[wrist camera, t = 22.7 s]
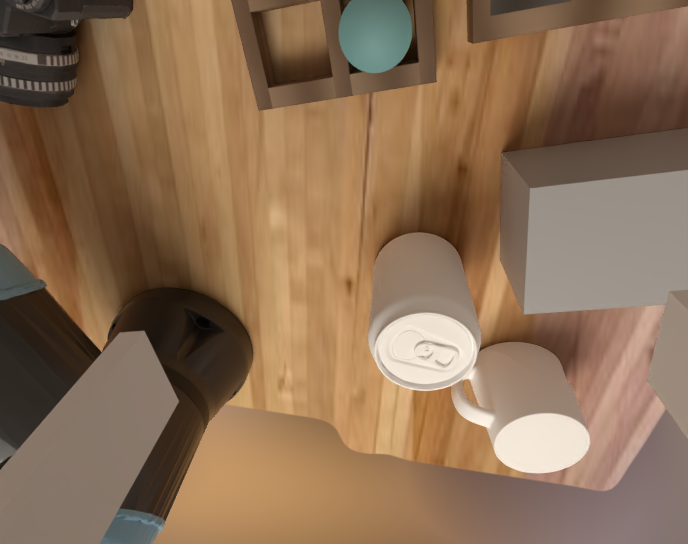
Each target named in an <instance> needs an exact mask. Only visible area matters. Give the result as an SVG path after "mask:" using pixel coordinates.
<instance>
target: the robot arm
mask: <svg viewBox="0 0 688 544" xmlns="http://www.w3.org/2000/svg"><path fill="white" fill-rule="evenodd" d="M45 286H47V284H46V283H45V282H44V281H43V280H41V279H37V278H36V277H35V276H34V275H33V274H32V273H31V272H30V271H29V270H28V268H27V267H26V266H25V265H24V264H23V263H22V262H21V261H20V260H19V259H18V258H17V257H16V256H15V255H14V254H13V253H12V252H11V251H10V250H9V249H8V248H6V247H5V246H4V245H2V244H0V544H153V543H154V541H155V539H156V537H157V535H158V533H159V532H161V531H162V529H163V528H164V524H165V521H166V518H167V516H168V514H169V512H170V509H171V507H172V505H173V502H174V500H175V498H176V496H177V493H178V491H179V489H180V486H181V484H182V482H183V480H184V477H185V475H186V473H187V470H188V468H189V466H190V463H191V461H192V459H193V457H194V454H195V452H196V450H197V447H198V445H199V443H200V440H201V438H202V436H203V434H204V432H205V429H206V427H207V425H208V423H209V421H210V420H211V419H212V418H213V417H214V416H215V415H216V414H217V412H218V411H219V410H220V409H221V408H222V407H223V405H224V404H225V403H226V402H227V401H229V400H230V399H232V398H233V397H234V396H235V395H236V394H237V393H238V392H239V390H240V389H241V388H242V386H243V384H244V382H245V380H246V378H247V375H248V373H249V370H250V368H251V365H252V360H253V351H252V345H251V342H250V339H249V337H248V334H247V332H246V331H245V329H244V328H243V326H242V325H241V323H240V322H239V321H238V320H237V319H236V317H235V316H234V315H233V314H232V313H230V312H229V311H228V310H227V309H226V308H224V307H223V306H222V305H220V304H219V303H217V302H215V301H214V300H212V299H210V298H208V297H206V296H203V295H201V294H198V293H195V292H192V291H188V290H184V289H177V288H159V289H153V290H149V291H146V292H143V293H141V294H139V295H137V296H136V297H134V298H133V299H132V300H131V301H130V302H129V303H128V304H127V305H126V306H125V307H124V308H123V309H122V310H121V311H120V312H119V313H118V315H117V316H116V317H115V319H114V321H113V322H112V324H111V327H110V330H109V333H108V341H107V342H106V344H105V346H104V348H103V351H102V352H101V351H100V350H99V349H98V348H97V347H96V345H95V344H94V343H93V342H92V341H91V340H90V339H89V338H88V337H87V336H86V334H85V333H84V332H83V331H82V330H81V329H80V327H79V326H78V325H77V324H76V323H75V322H74V321H73V319H72V318H71V317H70V316H69V315H68V314H67V312H66V311H65V310H64V309H63V308H62V307H61V306H60V304H59V303H58V302H57V301H56V300H55V299H54V297H53V296H52V295H51V294H50V293H49V292H48V290H47V289H46V288H45ZM647 381H648V383H649V384H650V386H651V387H652V389H653V390H654V391H655V393H656V394H657V396H658V397H659V399H660V400H661V402H662V403H663V404H664V406H665V407H666V409H667V410H668V411H669V413H670V414H671V416H672V417H673V418H674V420H675V421H676V423H677V425H678V426H679V427H680V429H681V430H682V431H683V433H684V435H685V436H686V437H687V439H688V290H677V291H669V293H668V297H667V301H666V305H665V309H664V313H663V317H662V321H661V325H660V329H659V334H658V338H657V342H656V346H655V350H654V354H653V358H652V362H651V366H650V370H649V374H648V378H647Z"/></svg>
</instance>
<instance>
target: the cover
mask: <svg viewBox="0 0 688 544" xmlns="http://www.w3.org/2000/svg"><path fill="white" fill-rule="evenodd" d="M500 261H501V264H502V266H503V268H504V271H505V273H506V275H507V277H508V280H509V282H510V284H511V287H512V289H513V291H514V293H515V296H516V298H517V300H518V303H519V305H520V307H521V309H522V312H523V314H524V315H525V314H539V313H553V312H567V311H581V310H595V309H609V308H623V307H637V306H651V305H665V304H666V301H667V297H668V293H669V291H677V290H688V128H683V129H675V130H668V131H660V132H653V133H645V134H638V135H630V136H622V137H615V138H607V139H600V140H592V141H585V142H577V143H569V144H562V145H554V146H547V147H539V148H532V149H524V150H516V151H509V152H501V216H500Z"/></svg>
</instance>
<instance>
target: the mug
mask: <svg viewBox="0 0 688 544" xmlns="http://www.w3.org/2000/svg"><path fill="white" fill-rule="evenodd" d="M465 379H470V382H471V385H472V388H473V391H474V393H475V396H476V399H477V402H478V405H479V406H477V405H475V404H473V403H472V402H471V401H470V400H469V399H468V398H467V397H466V395H465V393H464V391H463V386H462V381H463V380H465ZM451 395H452V400H453V403H454V406H455V407H456V409H457V411H458V412H459V413H460V414H461V415H462V416H463V417H464V418H465V419H467V420H469V421H471V422H473V423H476V424H478V425H481V426H484V427H486V428H487V431H488V433H489V436H490V439H491V442H492V445H493V448H494V451H495V453H496V455H497V457H498V458H499V459H500V460H501V461H502V462H503V463H504V464H505V465H507V466H509V467H511V468H513V469H515V470H519V471H522V472H528V473H548V472H554V471H558V470H561V469H564V468H567V467H569V466H571V465H573V464H575V463H576V462H578V461H579V460H580V459H581V458H582V457H583V456H584V455H585V454H586V452H587V451H588V449H589V446H590V435H589V432H588V429H587V426H586V423H585V421H584V418H583V415H582V412H581V409H580V406H579V404H578V401H577V398H576V395H575V392H574V389H573V386H572V384H571V383H568V382H567V380H566V377H565V374H564V371H563V368H562V365H561V362H560V361H559V359H558V358H557V357H556V356H555V355H554V354H553V353H552V352H550V351H549V350H547V349H545V348H543V347H540V346H538V345H534V344H530V343H524V342H504V343H498V344H494V345H491V346H489V347H486V348H484V349H483V350H481V351H480V352H478V355H477V359H476V362H475V364H474V366H473V368H472V369H471V371H470V372H469V373H468V374H467V375H466V376H465V377H464V378H463V379H462V380H460V381H459V382H457V383H455V384H453V385H452V388H451Z"/></svg>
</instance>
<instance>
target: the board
mask: <svg viewBox="0 0 688 544" xmlns="http://www.w3.org/2000/svg"><path fill="white" fill-rule="evenodd" d="M686 6H688V0H467V30H468V42H471V43H478V42H484V41H490V40H496V39H502V38H507V37H513V36H519V35H525V34H530V33H536V32H542V31H548V30H553V29H559V28H565V27H571V26H576V25H582V24H588V23H594V22H599V21H605V20H611V19H617V18H622V17H628V16H634V15H640V14H645V13H651V12H657V11H663V10H668V9H674V8H680V7H686Z"/></svg>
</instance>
